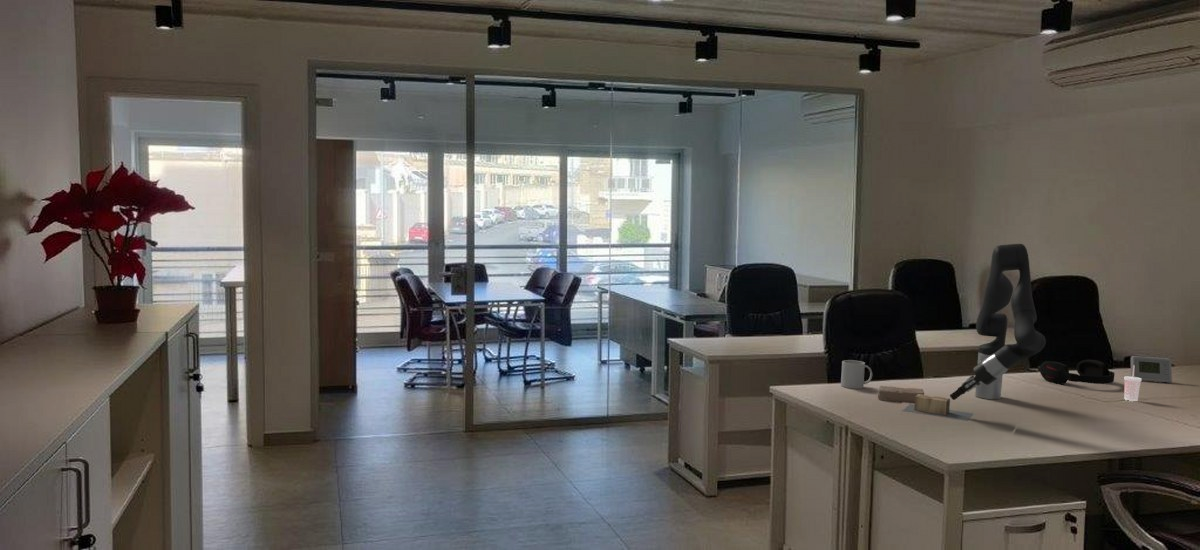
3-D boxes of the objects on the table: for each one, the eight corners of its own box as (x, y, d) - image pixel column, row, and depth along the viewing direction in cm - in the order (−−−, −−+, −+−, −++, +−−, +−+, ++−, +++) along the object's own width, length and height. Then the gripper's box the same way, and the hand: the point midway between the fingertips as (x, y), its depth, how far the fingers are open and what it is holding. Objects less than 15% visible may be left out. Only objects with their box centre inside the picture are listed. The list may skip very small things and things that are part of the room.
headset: (1054, 373, 404) (1056, 353, 403) (1122, 383, 385) (1124, 362, 384) (1032, 381, 383) (1034, 360, 382) (1103, 392, 364) (1105, 370, 363)
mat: (909, 405, 328) (909, 404, 328) (973, 414, 317) (973, 413, 317) (901, 411, 317) (901, 410, 317) (967, 421, 306) (967, 420, 306)
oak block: (949, 412, 317) (917, 407, 323) (950, 398, 317) (918, 394, 322) (946, 415, 313) (914, 410, 318) (947, 401, 312) (915, 396, 318)
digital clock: (1129, 380, 391) (1131, 357, 390) (1127, 377, 399) (1129, 354, 398) (1172, 385, 384) (1175, 361, 383) (1170, 381, 392) (1172, 358, 391)
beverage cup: (1128, 401, 347) (1131, 366, 346) (1118, 398, 353) (1121, 363, 352) (1143, 402, 347) (1146, 367, 346) (1133, 398, 353) (1136, 364, 352)
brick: (877, 400, 335) (878, 388, 335) (877, 396, 343) (878, 384, 343) (923, 405, 330) (924, 393, 330) (922, 400, 338) (923, 388, 338)
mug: (837, 386, 358) (838, 361, 357) (847, 382, 365) (848, 359, 364) (862, 390, 351) (863, 365, 350) (872, 387, 358) (874, 362, 357)
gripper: (988, 357, 312) (949, 386, 321) (979, 362, 302) (939, 392, 310) (1003, 374, 310) (964, 403, 318) (994, 380, 299) (954, 409, 307)
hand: (951, 397), depth 314 cm, fingers closed
